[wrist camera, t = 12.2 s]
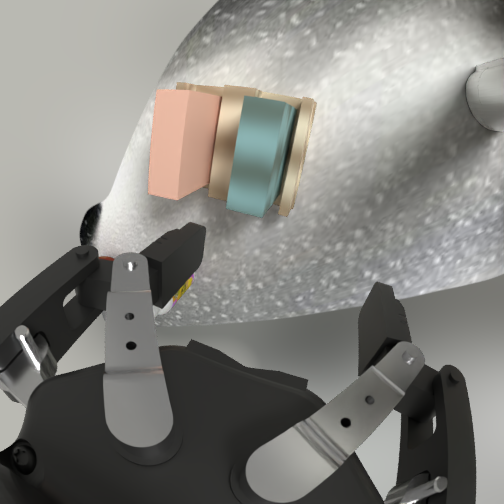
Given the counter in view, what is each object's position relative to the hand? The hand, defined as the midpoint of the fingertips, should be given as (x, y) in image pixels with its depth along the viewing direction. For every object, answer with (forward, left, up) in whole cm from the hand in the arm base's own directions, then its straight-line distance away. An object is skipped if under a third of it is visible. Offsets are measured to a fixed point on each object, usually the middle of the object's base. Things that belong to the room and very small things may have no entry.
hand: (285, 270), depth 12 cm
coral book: (-2, -15, -26) cm, 30 cm away
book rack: (-2, -11, -27) cm, 29 cm away
